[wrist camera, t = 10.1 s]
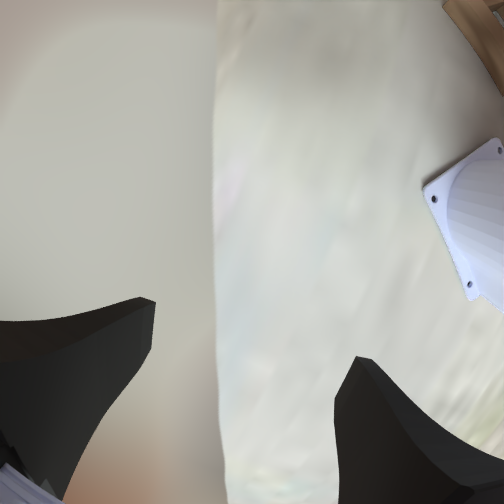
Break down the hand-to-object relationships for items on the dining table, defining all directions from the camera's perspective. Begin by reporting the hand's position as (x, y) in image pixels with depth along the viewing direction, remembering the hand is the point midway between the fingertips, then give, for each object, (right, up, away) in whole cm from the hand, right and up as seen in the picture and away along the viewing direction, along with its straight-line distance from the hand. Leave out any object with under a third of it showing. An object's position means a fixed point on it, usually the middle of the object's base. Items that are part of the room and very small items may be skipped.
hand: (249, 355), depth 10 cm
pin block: (+20, +20, +3) cm, 28 cm away
